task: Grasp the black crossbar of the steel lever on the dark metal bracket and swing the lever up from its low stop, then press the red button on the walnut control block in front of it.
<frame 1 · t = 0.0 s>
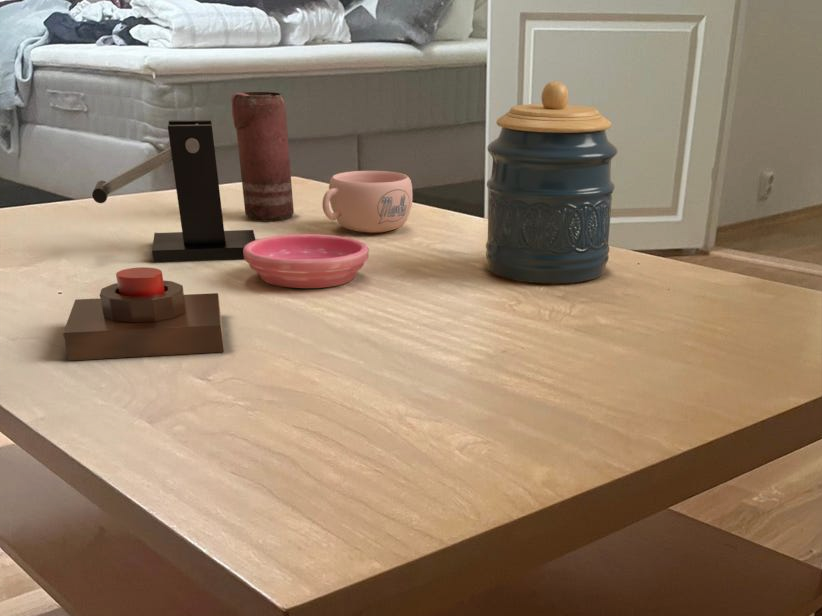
control block: (149, 338, 85), on the table
mug: (365, 232, 122), on the table
bracket: (206, 251, 112), on the table
button: (140, 283, 82), point 4 cm above the table, slide at 0.1 cm
lever: (149, 165, 106), point 9 cm above the table, hinge at -25.0°
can: (269, 218, 128), on the table
canister: (546, 272, 107), on the table
pink bowl: (308, 280, 102), on the table
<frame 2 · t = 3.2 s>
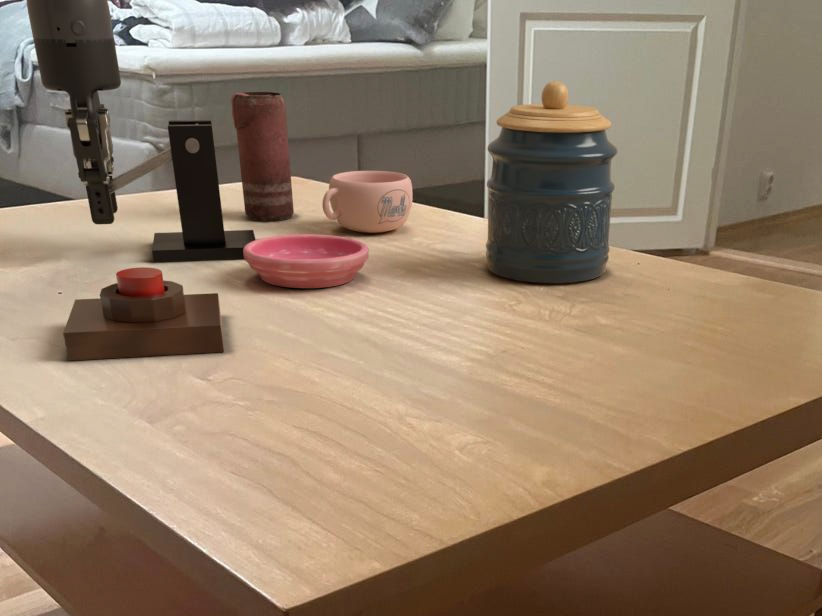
hand: (105, 217, 107), 4 cm above the table, tool pointing down, fingers closed on lever, 5 cm apart
lever: (149, 165, 106), point 9 cm above the table, hinge at -25.1°, touching gripper
everything else where it was.
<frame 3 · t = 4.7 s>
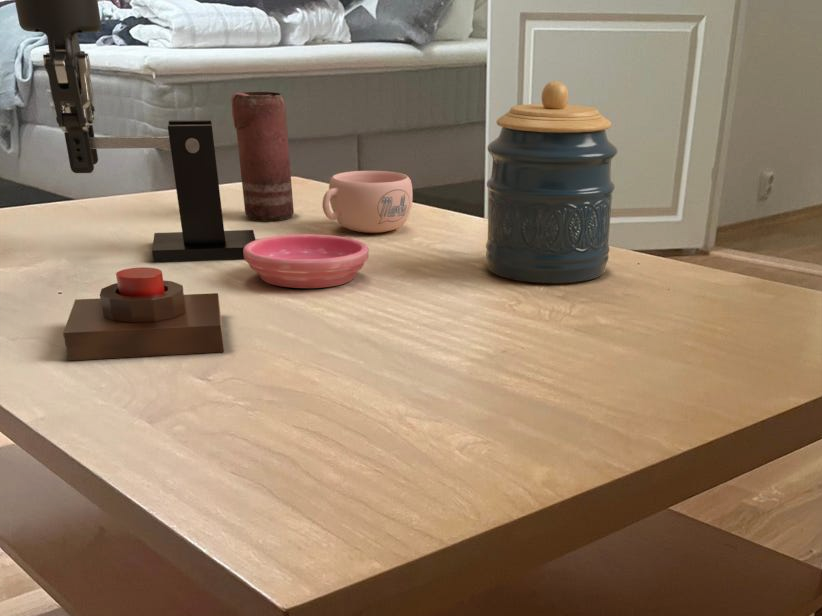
hand: (85, 167, 104), 9 cm above the table, tool pointing down, fingers closed on lever, 5 cm apart
lever: (141, 142, 104), point 11 cm above the table, hinge at 0.3°, touching gripper
everything else where it was.
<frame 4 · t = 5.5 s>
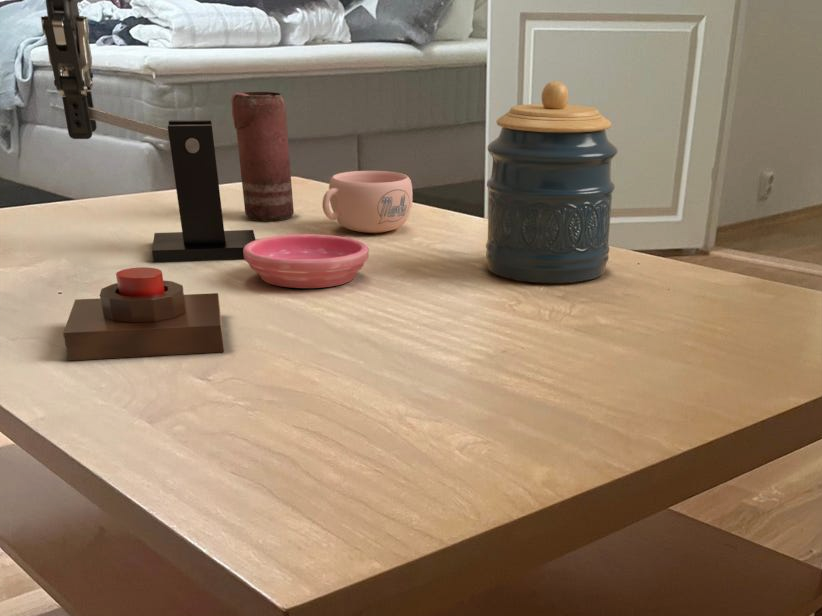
hand: (83, 134, 103), 12 cm above the table, tool pointing down, fingers closed on lever, 5 cm apart
lever: (140, 127, 104), point 12 cm above the table, hinge at 16.1°, touching gripper
everything else where it was.
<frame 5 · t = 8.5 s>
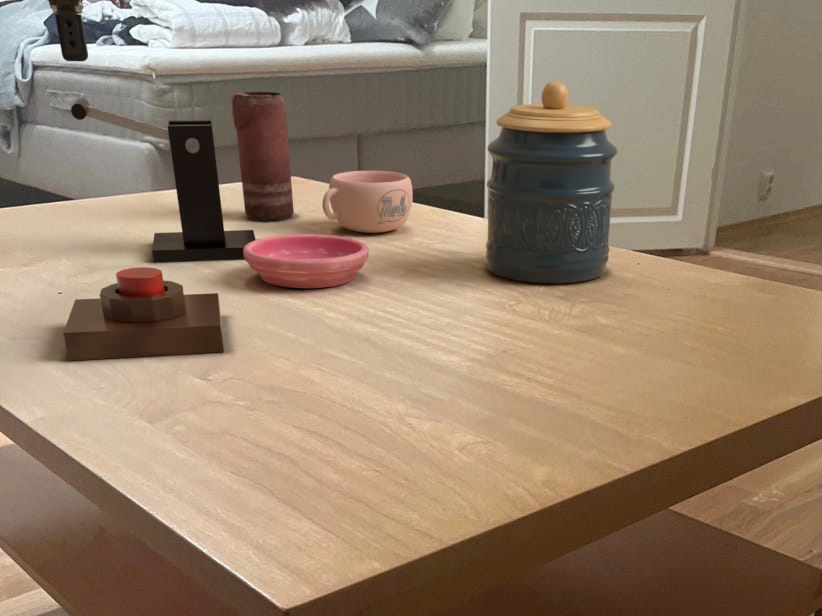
hand: (76, 60, 94), 19 cm above the table, tool pointing down, fingers closed
lever: (141, 126, 104), point 12 cm above the table, hinge at 16.7°
everything else where it was.
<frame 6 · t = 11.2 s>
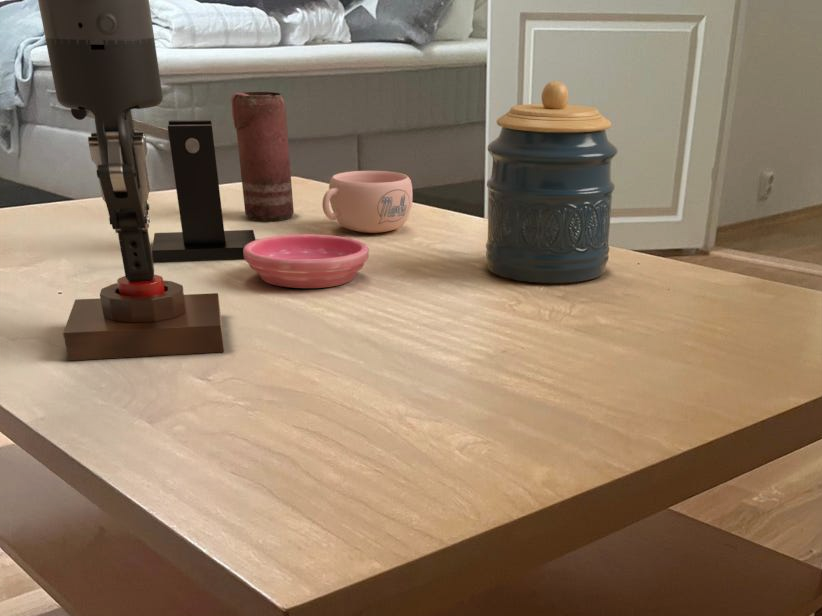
hand: (140, 279, 82), 5 cm above the table, tool pointing down, fingers closed
button: (141, 290, 82), point 4 cm above the table, slide at -0.4 cm, touching gripper
everything else where it was.
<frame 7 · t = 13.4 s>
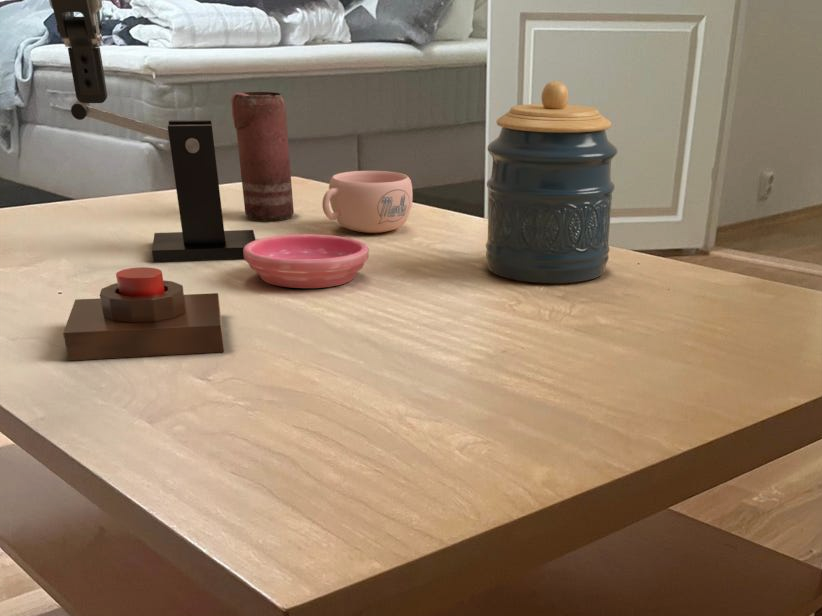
hand: (92, 101, 79), 17 cm above the table, tool pointing down, fingers closed
button: (140, 283, 82), point 4 cm above the table, slide at 0.1 cm
everything else where it was.
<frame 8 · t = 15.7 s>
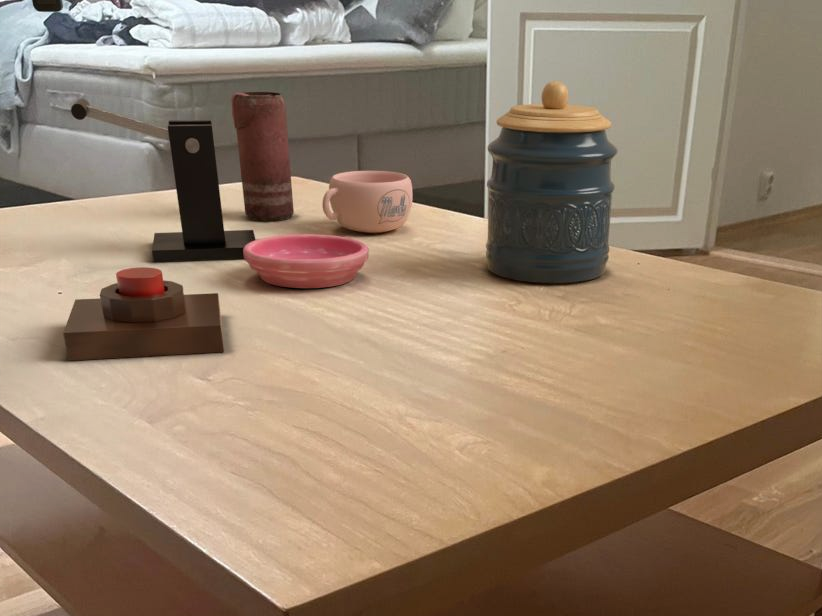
hand: (49, 11, 84), 23 cm above the table, tool pointing down, fingers closed
nothing on the table moved.
at the end: lever at +17° (first picture: -25°); button pushed in 1.1 cm at the most during the clip, back to where it started at the end; button slide at 0.1 cm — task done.
